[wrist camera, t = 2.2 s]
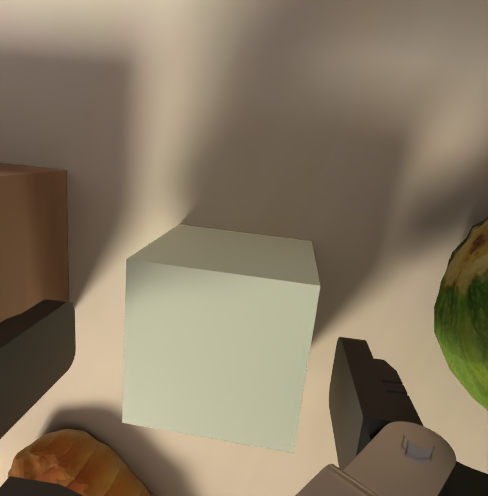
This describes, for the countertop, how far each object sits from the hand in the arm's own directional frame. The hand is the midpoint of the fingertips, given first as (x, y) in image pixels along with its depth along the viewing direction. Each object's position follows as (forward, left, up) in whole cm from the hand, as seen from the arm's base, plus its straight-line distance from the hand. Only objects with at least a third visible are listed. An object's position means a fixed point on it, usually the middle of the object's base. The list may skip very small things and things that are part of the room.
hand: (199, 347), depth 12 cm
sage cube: (-1, 0, -4) cm, 4 cm away
